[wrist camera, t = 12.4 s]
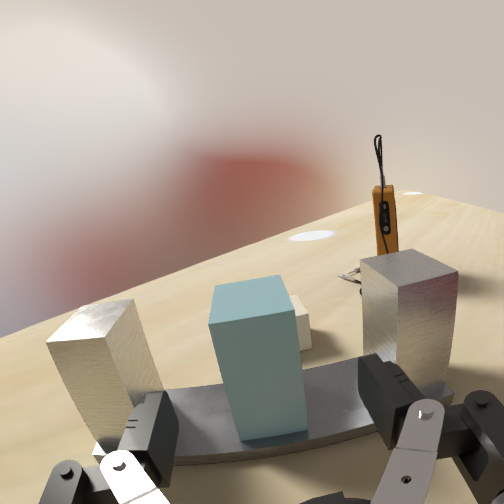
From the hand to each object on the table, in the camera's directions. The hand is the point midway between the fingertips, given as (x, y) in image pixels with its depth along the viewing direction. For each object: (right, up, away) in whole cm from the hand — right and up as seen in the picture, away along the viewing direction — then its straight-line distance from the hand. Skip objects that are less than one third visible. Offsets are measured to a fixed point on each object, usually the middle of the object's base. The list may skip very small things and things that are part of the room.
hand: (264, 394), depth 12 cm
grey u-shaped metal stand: (+1, -6, +9) cm, 11 cm away
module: (+1, -6, +9) cm, 11 cm away
